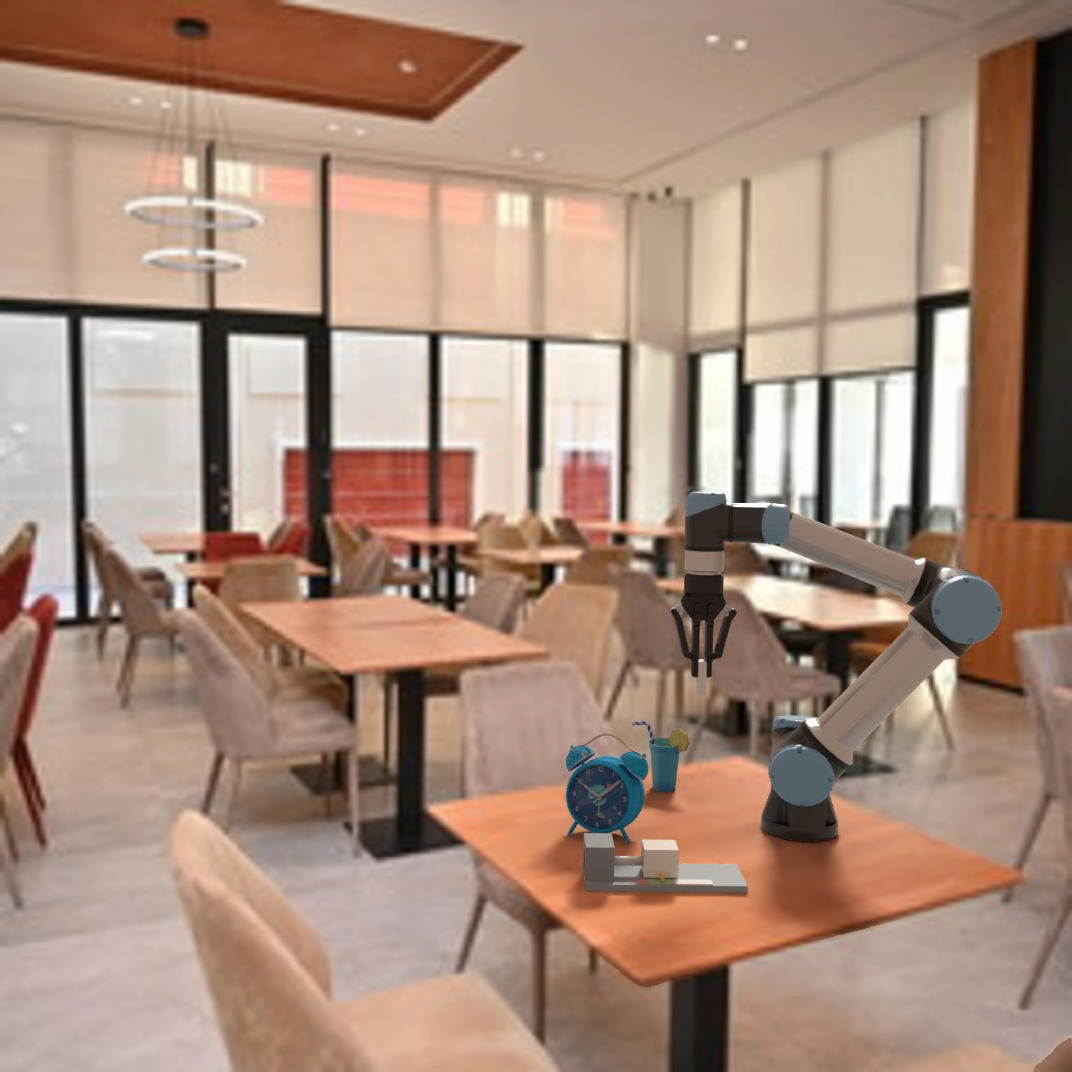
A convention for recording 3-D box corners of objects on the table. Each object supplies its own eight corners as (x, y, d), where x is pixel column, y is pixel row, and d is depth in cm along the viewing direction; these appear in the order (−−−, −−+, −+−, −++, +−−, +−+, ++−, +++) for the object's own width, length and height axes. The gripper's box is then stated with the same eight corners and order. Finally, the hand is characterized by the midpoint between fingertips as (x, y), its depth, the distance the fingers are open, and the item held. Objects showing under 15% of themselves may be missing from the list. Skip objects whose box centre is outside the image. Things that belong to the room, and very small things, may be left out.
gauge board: (736, 870, 194) (737, 831, 193) (747, 892, 184) (748, 852, 183) (582, 868, 194) (583, 830, 193) (585, 891, 184) (586, 850, 183)
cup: (625, 788, 241) (626, 723, 240) (636, 779, 248) (638, 715, 247) (684, 797, 235) (686, 730, 234) (694, 787, 242) (696, 722, 241)
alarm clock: (555, 838, 209) (556, 738, 207) (571, 822, 218) (573, 726, 217) (638, 850, 203) (640, 747, 201) (651, 833, 213) (653, 734, 211)
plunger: (674, 867, 191) (674, 839, 191) (679, 882, 184) (680, 854, 184) (596, 866, 191) (596, 839, 191) (598, 881, 184) (599, 853, 184)
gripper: (734, 570, 208) (730, 690, 209) (667, 569, 208) (664, 689, 209) (741, 575, 200) (738, 698, 202) (672, 574, 200) (669, 697, 202)
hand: (700, 693), depth 206 cm, fingers closed
